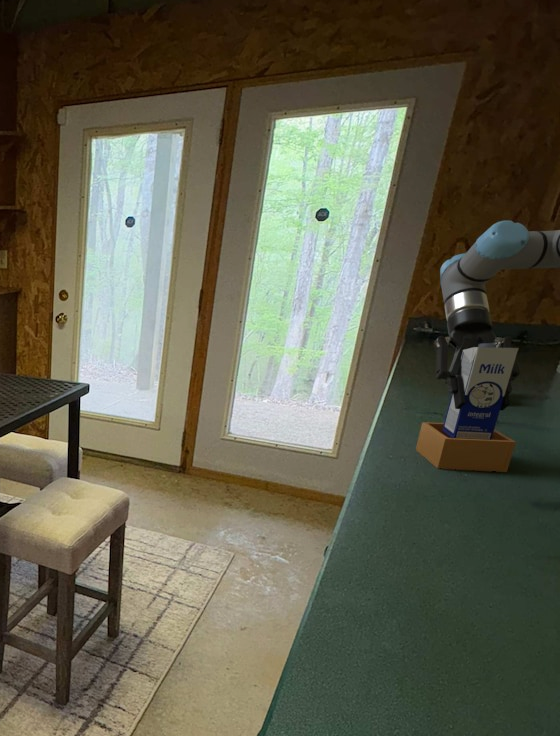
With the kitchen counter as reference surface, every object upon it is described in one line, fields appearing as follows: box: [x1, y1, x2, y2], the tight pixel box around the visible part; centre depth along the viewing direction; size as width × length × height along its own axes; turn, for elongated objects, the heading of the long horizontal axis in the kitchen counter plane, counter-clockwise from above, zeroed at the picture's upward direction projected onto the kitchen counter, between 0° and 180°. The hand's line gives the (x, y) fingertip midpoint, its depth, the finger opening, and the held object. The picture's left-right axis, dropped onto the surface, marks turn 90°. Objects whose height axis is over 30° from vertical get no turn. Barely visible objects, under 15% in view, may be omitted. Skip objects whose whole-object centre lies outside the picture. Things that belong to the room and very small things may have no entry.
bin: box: [415, 421, 517, 473], centre depth 138 cm, size 13×13×7 cm
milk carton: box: [442, 343, 520, 440], centre depth 133 cm, size 7×7×20 cm
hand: (482, 406), depth 131 cm, fingers closed on milk carton, 7 cm apart
